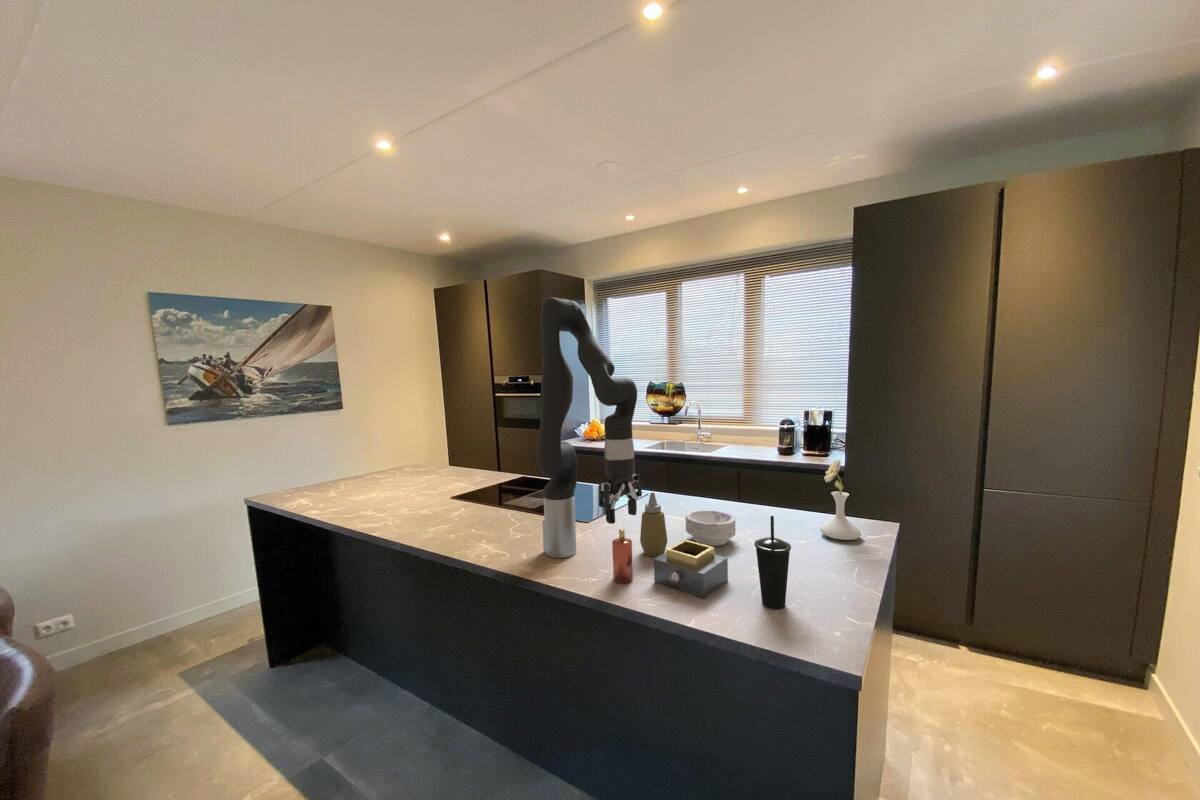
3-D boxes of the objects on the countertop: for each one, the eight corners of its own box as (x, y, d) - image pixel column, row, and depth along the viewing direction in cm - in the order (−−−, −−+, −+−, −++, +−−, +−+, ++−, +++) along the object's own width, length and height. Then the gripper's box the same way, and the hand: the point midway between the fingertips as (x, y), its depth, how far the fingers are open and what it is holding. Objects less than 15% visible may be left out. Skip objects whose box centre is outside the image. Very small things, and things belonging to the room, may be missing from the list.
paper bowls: (741, 537, 141) (741, 512, 141) (727, 553, 128) (727, 526, 128) (695, 529, 149) (695, 506, 149) (678, 544, 137) (677, 519, 136)
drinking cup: (749, 596, 103) (748, 512, 102) (781, 594, 104) (780, 510, 103) (764, 614, 95) (763, 522, 94) (798, 611, 96) (797, 520, 95)
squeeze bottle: (667, 559, 126) (665, 496, 125) (638, 557, 127) (637, 496, 127) (668, 548, 134) (667, 489, 133) (641, 547, 135) (640, 489, 134)
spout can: (609, 580, 114) (607, 530, 113) (621, 573, 117) (620, 525, 117) (624, 586, 110) (622, 534, 110) (636, 579, 114) (635, 529, 113)
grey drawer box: (649, 584, 111) (648, 551, 110) (680, 566, 121) (679, 535, 120) (699, 602, 101) (698, 566, 101) (727, 581, 111) (727, 547, 111)
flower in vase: (823, 528, 147) (822, 453, 146) (863, 534, 140) (862, 456, 139) (815, 540, 136) (815, 460, 135) (858, 548, 130) (858, 463, 128)
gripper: (625, 450, 120) (628, 509, 121) (589, 459, 110) (592, 523, 110) (648, 453, 115) (650, 514, 116) (612, 461, 105) (614, 529, 105)
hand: (621, 518), depth 113 cm, fingers open, 8 cm apart
